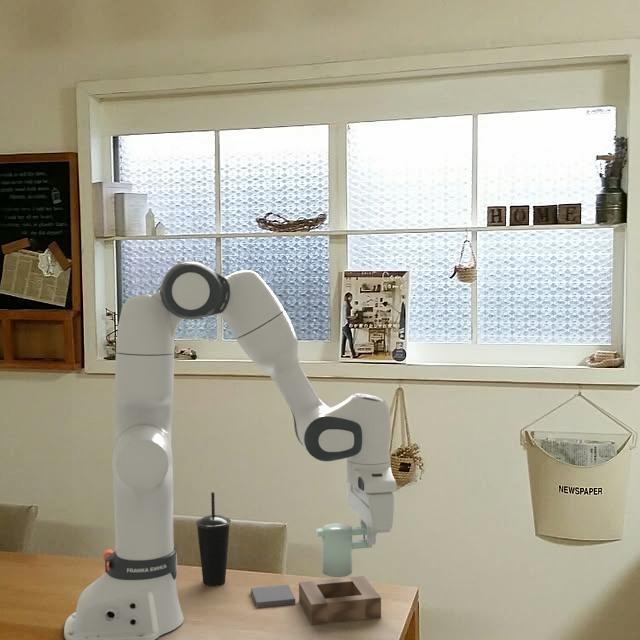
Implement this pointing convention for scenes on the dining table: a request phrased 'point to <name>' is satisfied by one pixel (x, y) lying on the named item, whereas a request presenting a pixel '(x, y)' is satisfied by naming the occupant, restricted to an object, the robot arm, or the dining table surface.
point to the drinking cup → (213, 546)
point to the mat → (272, 595)
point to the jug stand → (339, 600)
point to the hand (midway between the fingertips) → (368, 541)
